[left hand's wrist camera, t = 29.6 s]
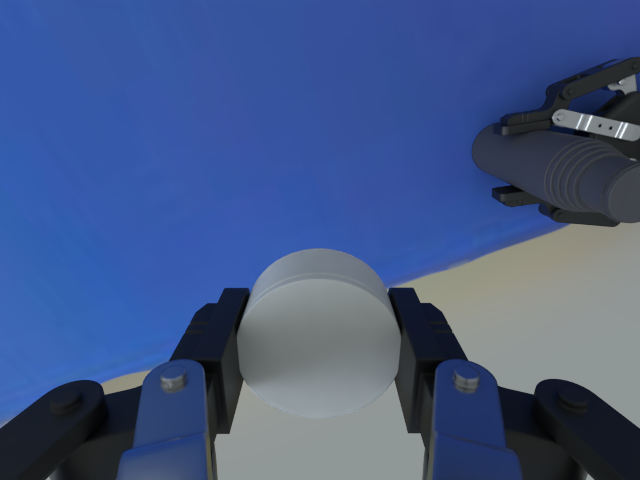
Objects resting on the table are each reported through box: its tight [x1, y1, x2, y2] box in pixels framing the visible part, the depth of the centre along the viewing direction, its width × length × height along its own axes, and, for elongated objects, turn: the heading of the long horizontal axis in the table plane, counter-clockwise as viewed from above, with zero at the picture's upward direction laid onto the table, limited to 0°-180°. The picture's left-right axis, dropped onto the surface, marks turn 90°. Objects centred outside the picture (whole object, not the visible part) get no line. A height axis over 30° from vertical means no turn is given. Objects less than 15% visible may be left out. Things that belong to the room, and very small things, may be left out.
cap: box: [237, 248, 401, 418], centre depth 11 cm, size 4×4×2 cm
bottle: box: [472, 123, 640, 223], centre depth 30 cm, size 5×5×18 cm
